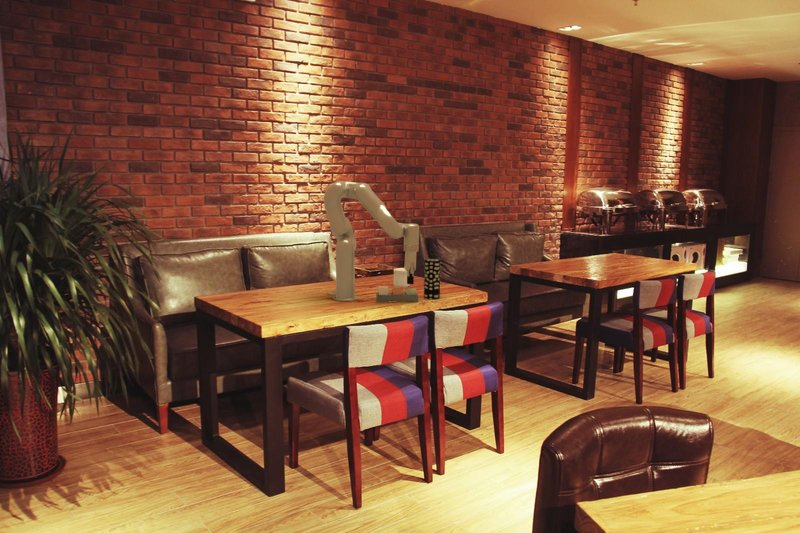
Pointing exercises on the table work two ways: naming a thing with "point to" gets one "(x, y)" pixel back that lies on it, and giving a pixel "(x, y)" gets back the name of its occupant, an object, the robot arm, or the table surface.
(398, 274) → the cup
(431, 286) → the white-spotted black cylinder
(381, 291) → the white button
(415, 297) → the button box
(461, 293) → the table surface
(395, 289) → the clay button
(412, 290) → the sage button
